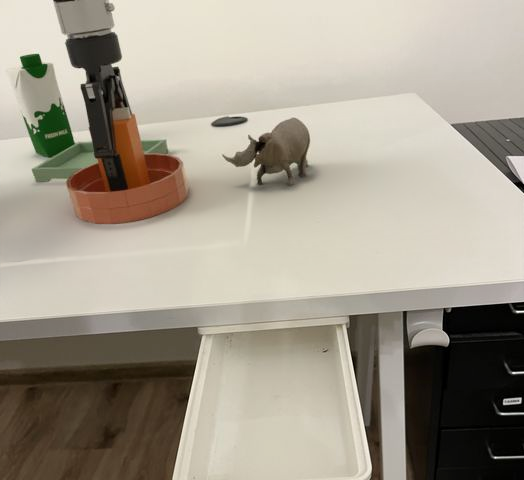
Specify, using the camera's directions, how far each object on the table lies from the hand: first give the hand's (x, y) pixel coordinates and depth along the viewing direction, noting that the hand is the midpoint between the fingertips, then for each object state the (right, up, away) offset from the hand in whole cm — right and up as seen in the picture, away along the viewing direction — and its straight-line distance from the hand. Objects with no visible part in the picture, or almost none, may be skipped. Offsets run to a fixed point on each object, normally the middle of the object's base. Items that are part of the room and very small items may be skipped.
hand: (128, 185), depth 92 cm
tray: (-10, +11, +22) cm, 26 cm away
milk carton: (-26, +18, +36) cm, 48 cm away
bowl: (0, -3, +2) cm, 3 cm away
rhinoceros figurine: (+25, +2, +4) cm, 26 cm away
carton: (0, -2, +2) cm, 3 cm away
